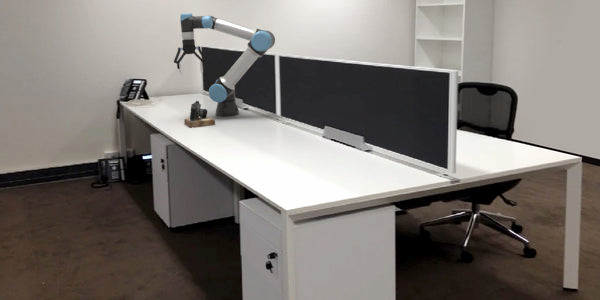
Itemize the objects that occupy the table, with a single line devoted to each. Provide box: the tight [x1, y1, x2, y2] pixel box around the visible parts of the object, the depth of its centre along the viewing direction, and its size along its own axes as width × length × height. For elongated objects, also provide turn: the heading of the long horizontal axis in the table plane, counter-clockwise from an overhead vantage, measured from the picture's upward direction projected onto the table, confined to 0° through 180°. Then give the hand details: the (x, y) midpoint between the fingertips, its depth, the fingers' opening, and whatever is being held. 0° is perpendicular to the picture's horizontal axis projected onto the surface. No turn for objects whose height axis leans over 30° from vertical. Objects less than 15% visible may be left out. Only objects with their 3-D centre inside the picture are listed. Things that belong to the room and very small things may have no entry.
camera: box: [189, 100, 208, 121], centre depth 358 cm, size 18×9×10 cm, turn 4°
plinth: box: [183, 116, 216, 129], centre depth 358 cm, size 15×15×3 cm
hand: (191, 73), depth 374 cm, fingers open, 13 cm apart
